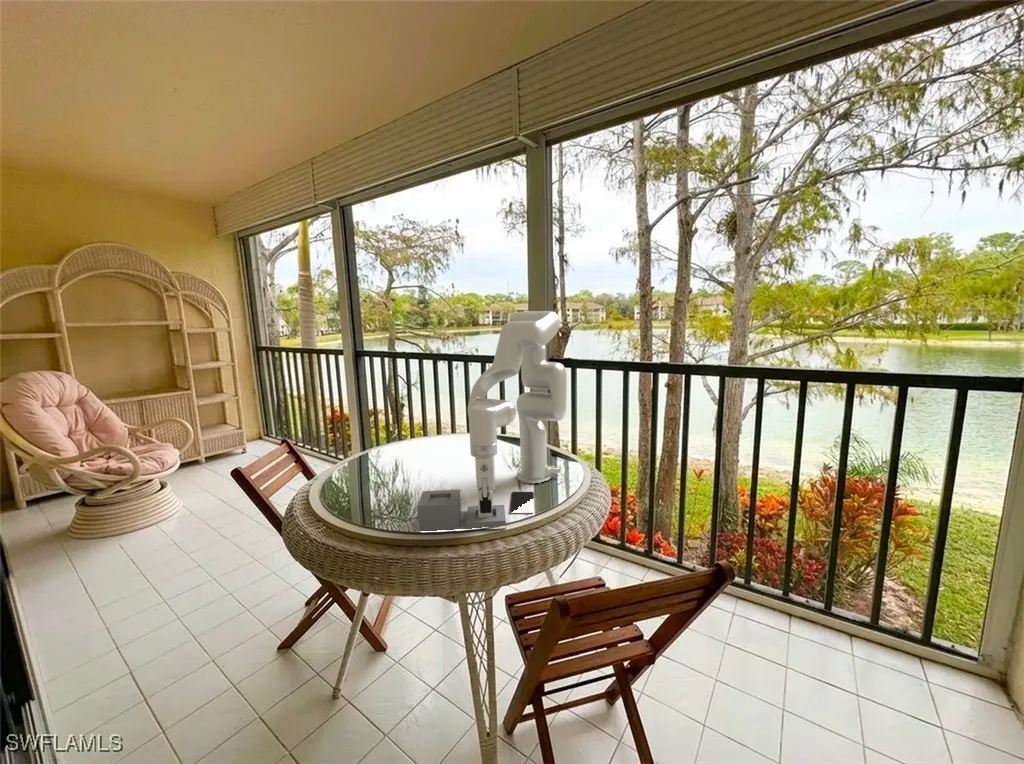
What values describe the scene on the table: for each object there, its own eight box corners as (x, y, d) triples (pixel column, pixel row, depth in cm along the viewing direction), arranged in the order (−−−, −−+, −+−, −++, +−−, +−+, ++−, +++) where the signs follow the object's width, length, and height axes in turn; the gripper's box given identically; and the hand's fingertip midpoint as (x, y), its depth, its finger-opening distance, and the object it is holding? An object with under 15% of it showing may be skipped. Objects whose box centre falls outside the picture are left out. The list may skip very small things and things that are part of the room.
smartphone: (533, 491, 141) (534, 512, 126) (533, 494, 141) (534, 514, 126) (511, 491, 141) (509, 512, 127) (511, 494, 142) (509, 514, 127)
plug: (492, 513, 124) (492, 484, 122) (492, 518, 121) (492, 489, 119) (478, 513, 124) (478, 485, 122) (478, 518, 120) (478, 489, 119)
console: (504, 512, 128) (503, 487, 126) (506, 528, 118) (505, 502, 117) (424, 516, 126) (422, 491, 125) (419, 533, 116) (417, 506, 115)
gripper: (497, 457, 111) (499, 522, 114) (496, 439, 127) (498, 496, 130) (469, 459, 111) (472, 524, 114) (471, 440, 127) (473, 498, 130)
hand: (485, 509), depth 122 cm, fingers closed on plug, 3 cm apart
